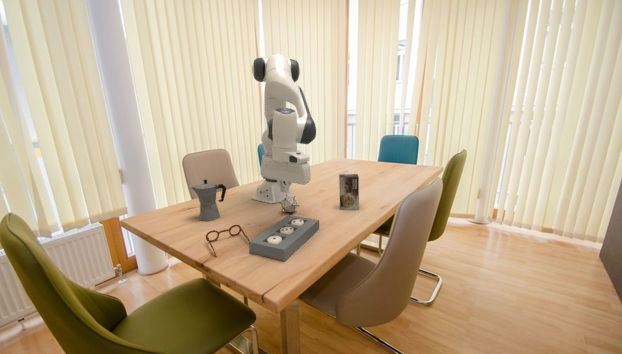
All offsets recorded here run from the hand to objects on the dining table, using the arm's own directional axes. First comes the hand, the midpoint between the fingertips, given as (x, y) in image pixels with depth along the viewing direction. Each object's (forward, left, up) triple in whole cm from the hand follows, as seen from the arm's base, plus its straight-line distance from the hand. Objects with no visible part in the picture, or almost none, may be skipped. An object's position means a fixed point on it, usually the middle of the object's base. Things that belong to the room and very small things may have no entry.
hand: (284, 192), depth 99 cm
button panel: (+2, -3, -17) cm, 18 cm away
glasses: (-16, -15, -18) cm, 28 cm away
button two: (+2, +5, -17) cm, 17 cm away
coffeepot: (-42, +3, -18) cm, 45 cm away
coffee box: (+12, +38, -18) cm, 43 cm away
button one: (+2, -11, -17) cm, 20 cm away
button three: (+2, -3, -17) cm, 17 cm away
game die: (-12, +22, -18) cm, 30 cm away
